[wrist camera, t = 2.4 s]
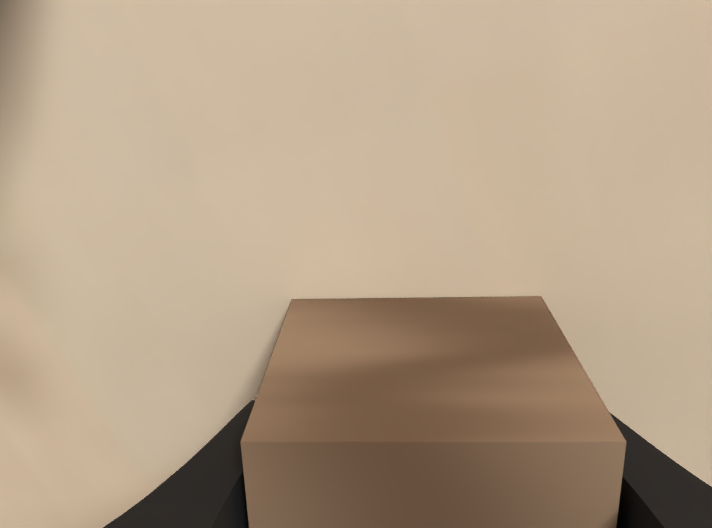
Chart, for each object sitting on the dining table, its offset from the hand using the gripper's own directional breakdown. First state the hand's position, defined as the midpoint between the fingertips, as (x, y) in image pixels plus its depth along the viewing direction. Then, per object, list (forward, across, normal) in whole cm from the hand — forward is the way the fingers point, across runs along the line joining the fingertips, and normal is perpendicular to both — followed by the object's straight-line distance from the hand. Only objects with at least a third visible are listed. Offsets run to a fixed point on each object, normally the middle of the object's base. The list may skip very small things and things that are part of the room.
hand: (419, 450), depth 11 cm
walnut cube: (+1, 0, 0) cm, 1 cm away
